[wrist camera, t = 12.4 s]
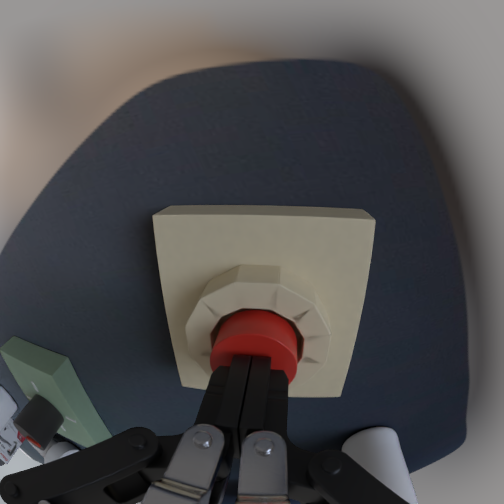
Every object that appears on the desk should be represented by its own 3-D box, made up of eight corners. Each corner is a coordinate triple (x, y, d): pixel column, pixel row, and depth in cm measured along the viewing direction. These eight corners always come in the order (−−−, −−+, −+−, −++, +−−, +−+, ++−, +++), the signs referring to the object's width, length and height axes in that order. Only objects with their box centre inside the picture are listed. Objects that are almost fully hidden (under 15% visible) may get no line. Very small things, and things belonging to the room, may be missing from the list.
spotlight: (93, 469, 31) (66, 492, 23) (55, 438, 34) (29, 456, 27) (81, 443, 30) (49, 467, 22) (42, 410, 33) (12, 428, 25)
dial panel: (13, 335, 22) (-3, 349, 19) (68, 356, 21) (50, 377, 18) (58, 414, 27) (48, 428, 24) (114, 438, 25) (104, 456, 23)
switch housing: (169, 205, 14) (132, 225, 11) (363, 209, 13) (389, 231, 10) (191, 364, 18) (173, 406, 15) (336, 373, 17) (343, 419, 13)
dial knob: (46, 414, 22) (26, 443, 17) (28, 389, 20) (5, 418, 15) (70, 426, 21) (50, 458, 16) (51, 400, 20) (27, 433, 15)
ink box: (27, 437, 39) (8, 466, 28) (17, 429, 40) (-3, 456, 29) (10, 416, 36) (-12, 446, 25) (0, 408, 37) (-22, 436, 26)
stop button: (215, 306, 12) (205, 330, 10) (300, 311, 12) (301, 335, 10) (221, 366, 13) (213, 391, 12) (293, 371, 13) (293, 397, 11)
